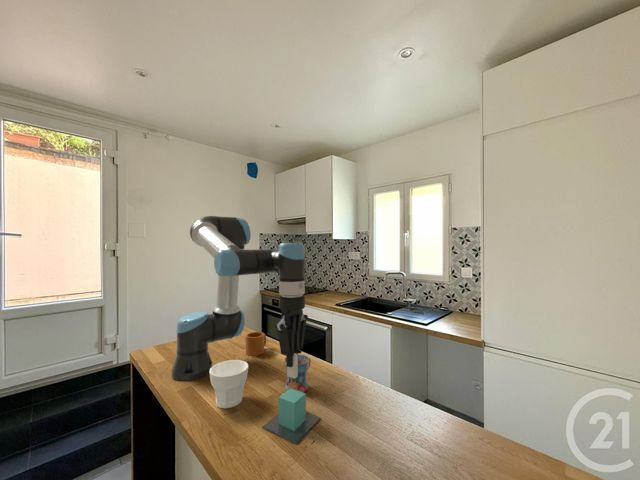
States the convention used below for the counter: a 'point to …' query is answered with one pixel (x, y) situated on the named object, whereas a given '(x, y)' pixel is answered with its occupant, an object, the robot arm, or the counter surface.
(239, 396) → the cup
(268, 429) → the grey square tile
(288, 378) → the mug
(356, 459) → the counter surface
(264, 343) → the mug
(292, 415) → the teal block
